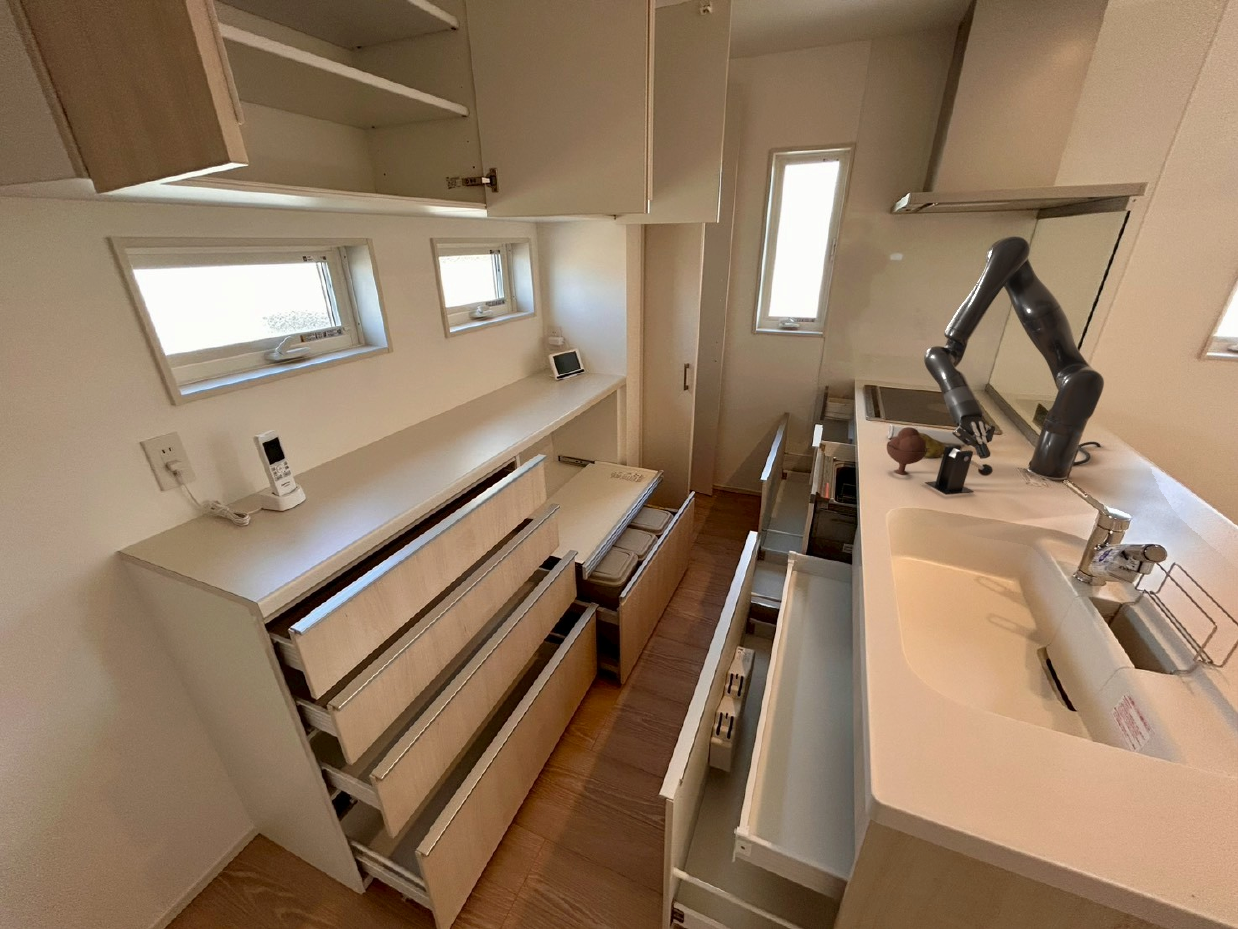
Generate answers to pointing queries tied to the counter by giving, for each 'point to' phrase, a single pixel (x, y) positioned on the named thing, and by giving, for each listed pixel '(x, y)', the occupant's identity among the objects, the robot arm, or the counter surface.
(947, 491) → the upright post with base
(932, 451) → the pear
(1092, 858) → the counter surface
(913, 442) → the ice cream bowl
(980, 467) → the lever
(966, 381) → the robot arm
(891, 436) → the tube
